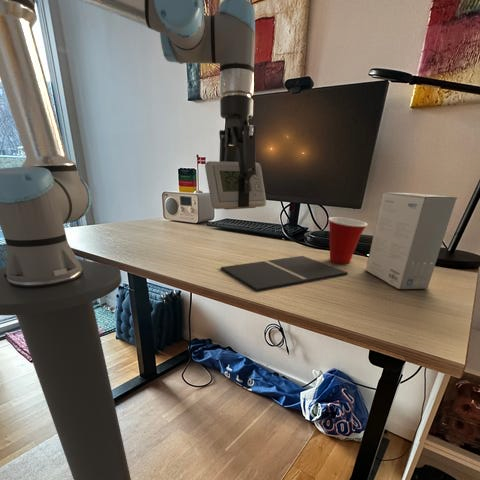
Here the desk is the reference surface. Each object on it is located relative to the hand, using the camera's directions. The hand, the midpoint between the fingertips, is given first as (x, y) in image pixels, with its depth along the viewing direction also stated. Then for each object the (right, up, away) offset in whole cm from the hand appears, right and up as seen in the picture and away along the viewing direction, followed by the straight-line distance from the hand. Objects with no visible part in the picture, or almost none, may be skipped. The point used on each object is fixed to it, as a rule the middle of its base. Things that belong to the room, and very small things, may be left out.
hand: (236, 205), depth 78 cm
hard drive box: (+40, -20, -2) cm, 45 cm away
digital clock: (0, -1, 0) cm, 1 cm away
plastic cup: (+31, -13, +12) cm, 36 cm away
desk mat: (+13, -17, +1) cm, 21 cm away
